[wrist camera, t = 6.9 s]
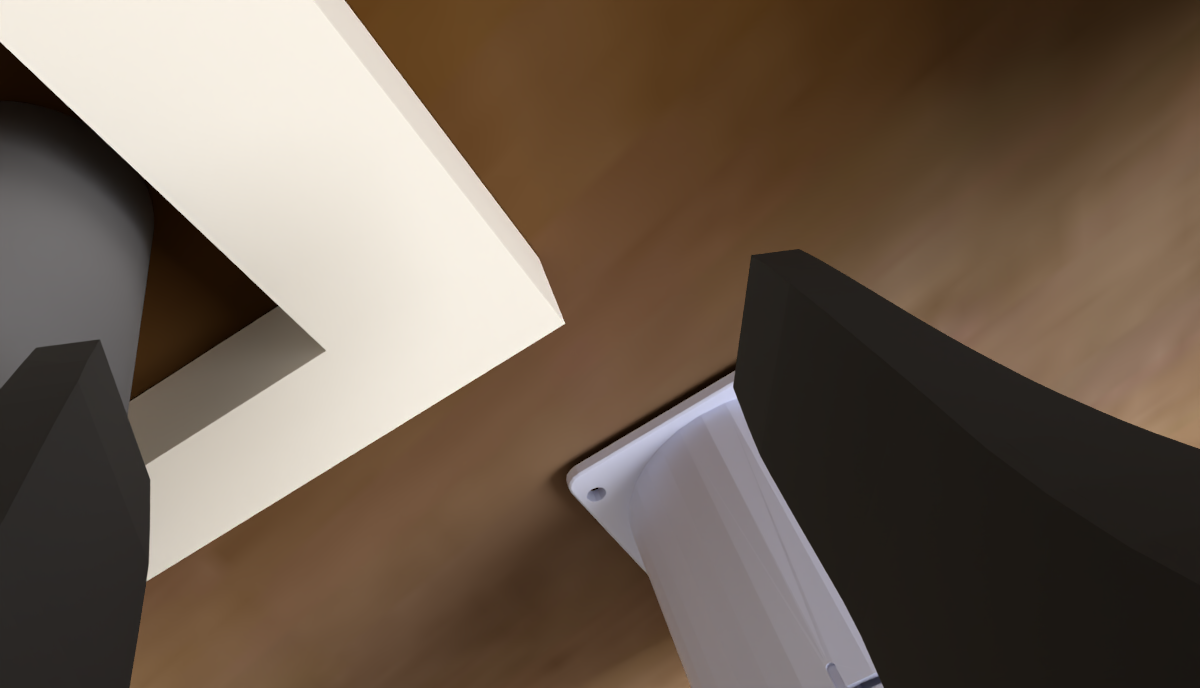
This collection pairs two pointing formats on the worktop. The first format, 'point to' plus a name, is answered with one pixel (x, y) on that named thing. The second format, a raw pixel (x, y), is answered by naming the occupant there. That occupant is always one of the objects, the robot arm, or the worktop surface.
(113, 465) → the robot arm
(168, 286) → the worktop surface
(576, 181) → the worktop surface
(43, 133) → the grey rounded cylinder
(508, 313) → the white frame with crossbar
